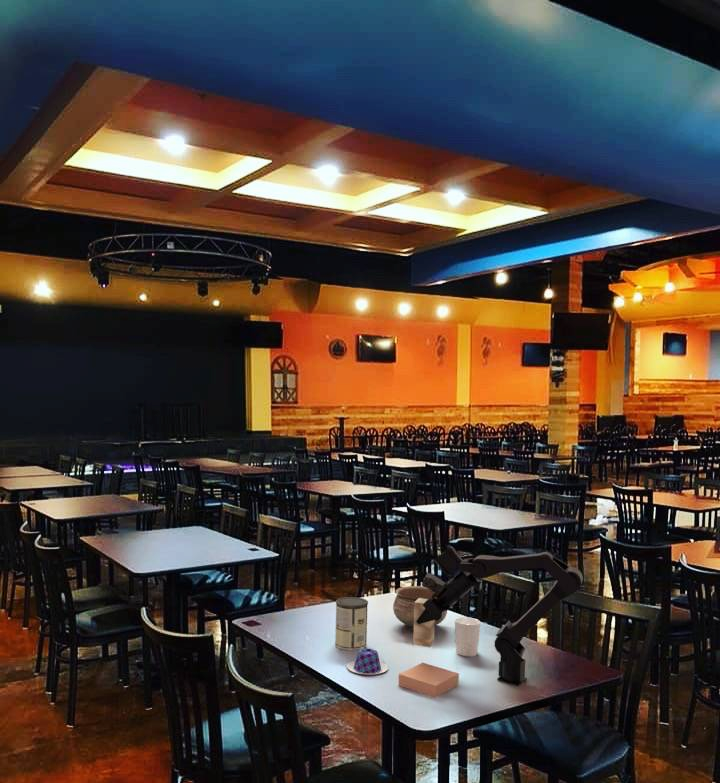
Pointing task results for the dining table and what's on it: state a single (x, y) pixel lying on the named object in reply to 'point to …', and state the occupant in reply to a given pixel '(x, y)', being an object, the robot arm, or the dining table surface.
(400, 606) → the cooking pot
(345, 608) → the coffee can
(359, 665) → the pudding
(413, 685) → the terracotta base
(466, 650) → the white cup
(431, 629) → the maple block
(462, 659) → the dining table surface
